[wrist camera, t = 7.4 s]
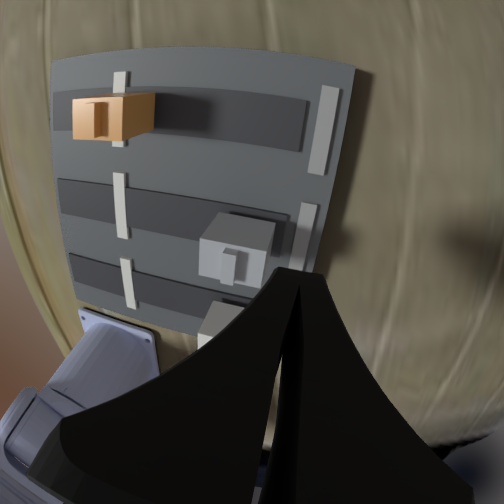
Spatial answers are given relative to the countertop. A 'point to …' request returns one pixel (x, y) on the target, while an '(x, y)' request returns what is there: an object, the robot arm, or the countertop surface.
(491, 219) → the countertop surface
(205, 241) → the cube with peg
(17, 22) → the countertop surface
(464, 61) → the countertop surface
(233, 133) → the control board
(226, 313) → the cube with tab
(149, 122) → the orange slider knob
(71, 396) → the robot arm
